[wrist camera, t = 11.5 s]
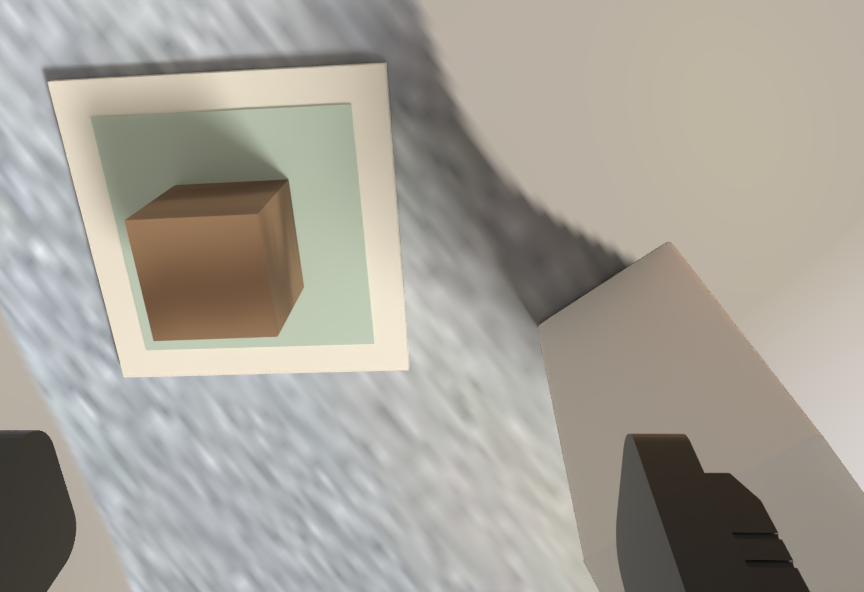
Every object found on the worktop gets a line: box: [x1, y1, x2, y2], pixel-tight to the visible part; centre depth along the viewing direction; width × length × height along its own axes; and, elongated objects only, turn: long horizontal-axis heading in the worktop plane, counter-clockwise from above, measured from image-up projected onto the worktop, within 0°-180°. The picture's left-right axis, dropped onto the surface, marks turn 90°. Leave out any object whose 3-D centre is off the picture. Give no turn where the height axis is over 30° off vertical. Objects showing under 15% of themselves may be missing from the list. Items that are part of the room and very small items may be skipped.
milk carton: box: [538, 242, 864, 592], centre depth 25 cm, size 7×7×19 cm
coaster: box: [48, 62, 410, 378], centre depth 32 cm, size 14×14×1 cm
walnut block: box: [124, 179, 304, 341], centre depth 30 cm, size 5×5×5 cm
